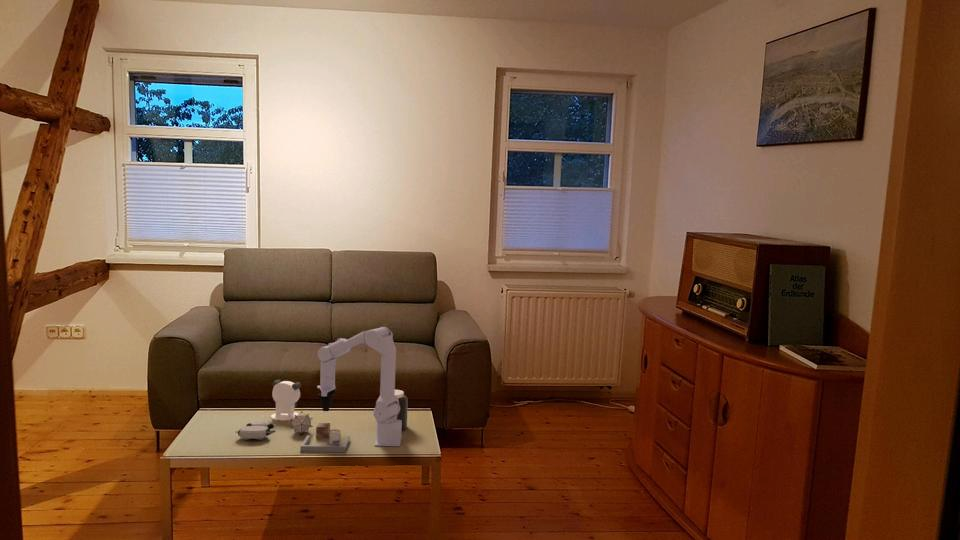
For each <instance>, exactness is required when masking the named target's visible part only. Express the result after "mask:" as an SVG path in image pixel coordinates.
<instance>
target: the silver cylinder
mask: <svg viewBox="0 0 960 540" xmlns="http://www.w3.org/2000/svg"><path fill="white" fill-rule="evenodd" d="M328 441H329V442H328V444H329V445H328V446H341V430H340V429H338V428H336V429H335V428H334V429H330V431H329V437H328Z"/></svg>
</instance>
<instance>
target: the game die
mask: <svg viewBox="0 0 960 540" xmlns="http://www.w3.org/2000/svg"><path fill="white" fill-rule="evenodd" d="M298 414H299V415H297V416H296V415H295V418H294V419H291V420H290V421H291V422H292V423H291V426H290V428H289V429H293V430H294V432H298V433H300V435H301V436H302V435H303V433H305V432H309V429H310V428H313V425H312V420H313V418H314V417H310V416H309V415H310V413H307V414H305V413H303V410H301V412H300V413H298Z"/></svg>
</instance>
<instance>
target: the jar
mask: <svg viewBox="0 0 960 540" xmlns="http://www.w3.org/2000/svg"><path fill="white" fill-rule="evenodd" d="M395 396H396V397H398V402H399V405H400V412H399V414H398V415H397V418H396V419H397V420H402V431H401V433H402V432H404V431H406V430H407V429H408V407H409V406H408V405H409V404H408V401H409V400H408V397H407V396H406V395H405V392H404V390H400V389H395ZM405 429H406V430H405Z"/></svg>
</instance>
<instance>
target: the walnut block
mask: <svg viewBox="0 0 960 540" xmlns="http://www.w3.org/2000/svg"><path fill="white" fill-rule="evenodd" d="M315 427H316V428H315V433H316V434H315V438H316V439H329V431H330V430H331V423H330V422H318V423H317V425H316V426H315Z"/></svg>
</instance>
